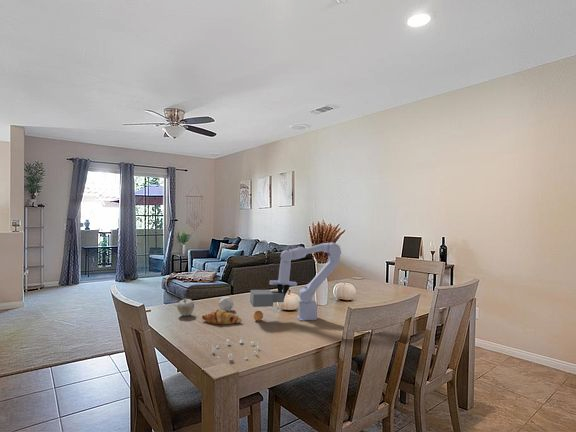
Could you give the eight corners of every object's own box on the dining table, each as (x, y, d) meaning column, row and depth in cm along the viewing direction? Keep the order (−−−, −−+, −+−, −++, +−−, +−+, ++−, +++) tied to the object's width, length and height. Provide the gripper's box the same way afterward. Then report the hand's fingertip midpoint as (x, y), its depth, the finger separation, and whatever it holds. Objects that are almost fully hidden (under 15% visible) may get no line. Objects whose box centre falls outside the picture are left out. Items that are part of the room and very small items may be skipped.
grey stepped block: (280, 301, 189) (280, 289, 189) (284, 306, 179) (285, 293, 179) (250, 301, 185) (250, 289, 185) (253, 307, 175) (253, 294, 175)
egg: (262, 318, 184) (262, 309, 184) (263, 321, 179) (263, 312, 179) (252, 319, 182) (252, 310, 182) (254, 322, 178) (254, 312, 178)
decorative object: (192, 312, 195) (192, 295, 195) (195, 316, 187) (195, 298, 187) (176, 314, 191) (176, 296, 191) (178, 319, 183) (178, 300, 183)
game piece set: (245, 366, 127) (245, 355, 127) (200, 357, 135) (200, 347, 135) (269, 347, 145) (269, 338, 145) (228, 340, 153) (228, 332, 153)
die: (226, 314, 193) (236, 299, 196) (213, 306, 195) (223, 291, 198) (228, 316, 201) (237, 301, 204) (216, 308, 202) (225, 293, 205)
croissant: (242, 328, 179) (245, 313, 183) (238, 324, 170) (240, 308, 174) (203, 325, 182) (206, 310, 186) (197, 321, 173) (200, 305, 177)
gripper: (272, 273, 178) (269, 300, 178) (299, 275, 182) (296, 301, 182) (269, 271, 185) (267, 296, 185) (295, 273, 189) (293, 297, 189)
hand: (281, 298), depth 184 cm, fingers closed on grey stepped block
